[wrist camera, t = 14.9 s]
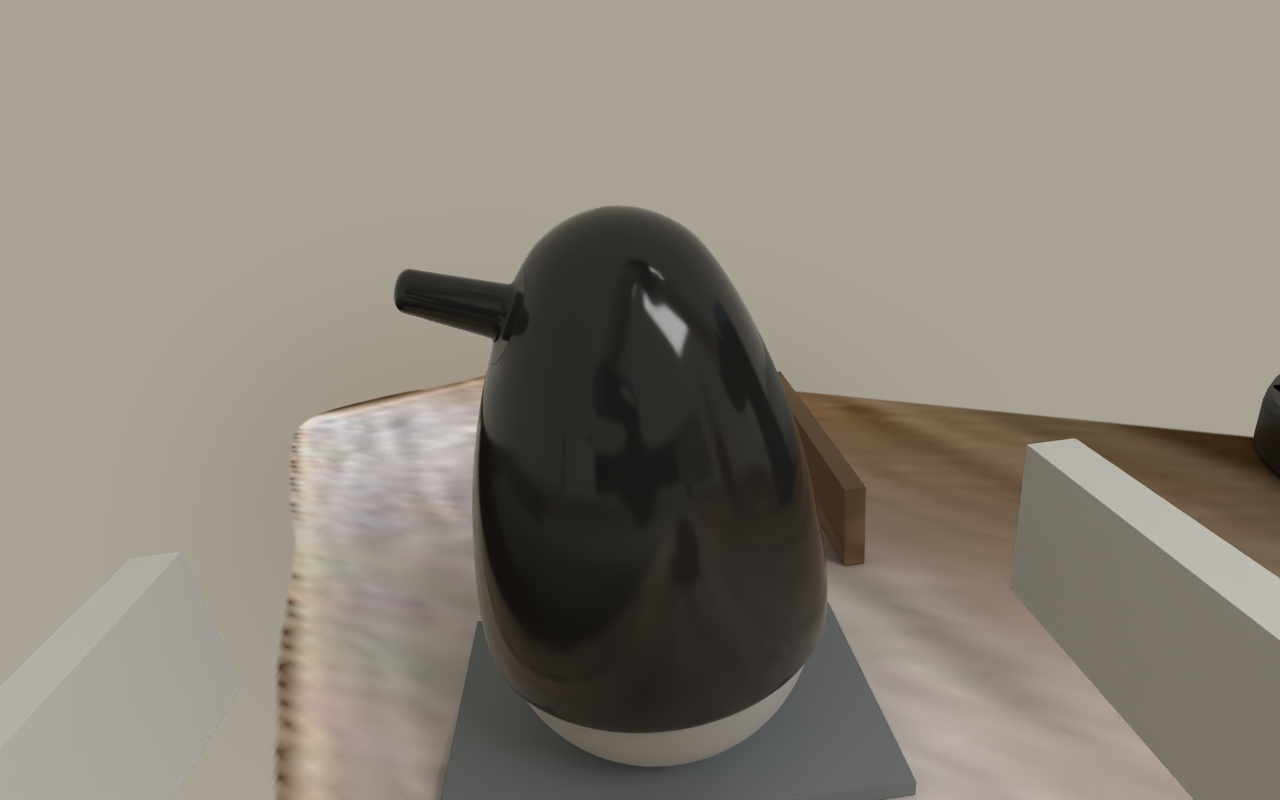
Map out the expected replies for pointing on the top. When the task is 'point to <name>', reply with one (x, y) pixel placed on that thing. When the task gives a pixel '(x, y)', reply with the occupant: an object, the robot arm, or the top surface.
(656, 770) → the grey mat
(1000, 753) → the top surface
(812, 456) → the walnut caddy
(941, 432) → the top surface
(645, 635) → the pump dispenser
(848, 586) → the top surface
